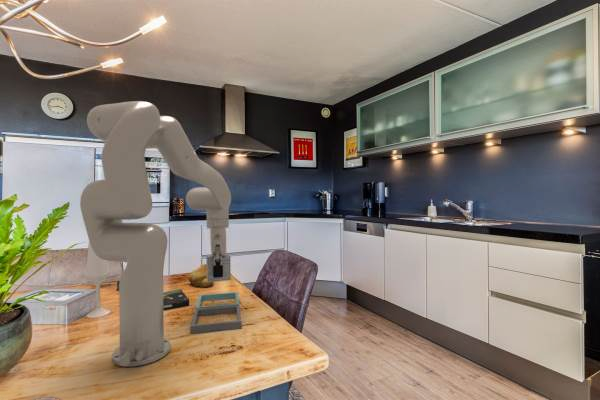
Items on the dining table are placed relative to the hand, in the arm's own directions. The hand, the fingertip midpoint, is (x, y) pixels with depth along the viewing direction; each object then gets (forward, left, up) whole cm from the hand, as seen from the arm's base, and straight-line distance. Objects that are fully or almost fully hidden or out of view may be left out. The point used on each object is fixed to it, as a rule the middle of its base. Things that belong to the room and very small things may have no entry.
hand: (218, 274), depth 110 cm
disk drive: (+7, +17, -11) cm, 22 cm away
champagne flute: (+1, +38, -11) cm, 40 cm away
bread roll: (+28, +8, -11) cm, 31 cm away
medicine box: (0, 0, -2) cm, 2 cm away
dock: (-8, 0, -11) cm, 13 cm away
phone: (+35, +39, -11) cm, 54 cm away
